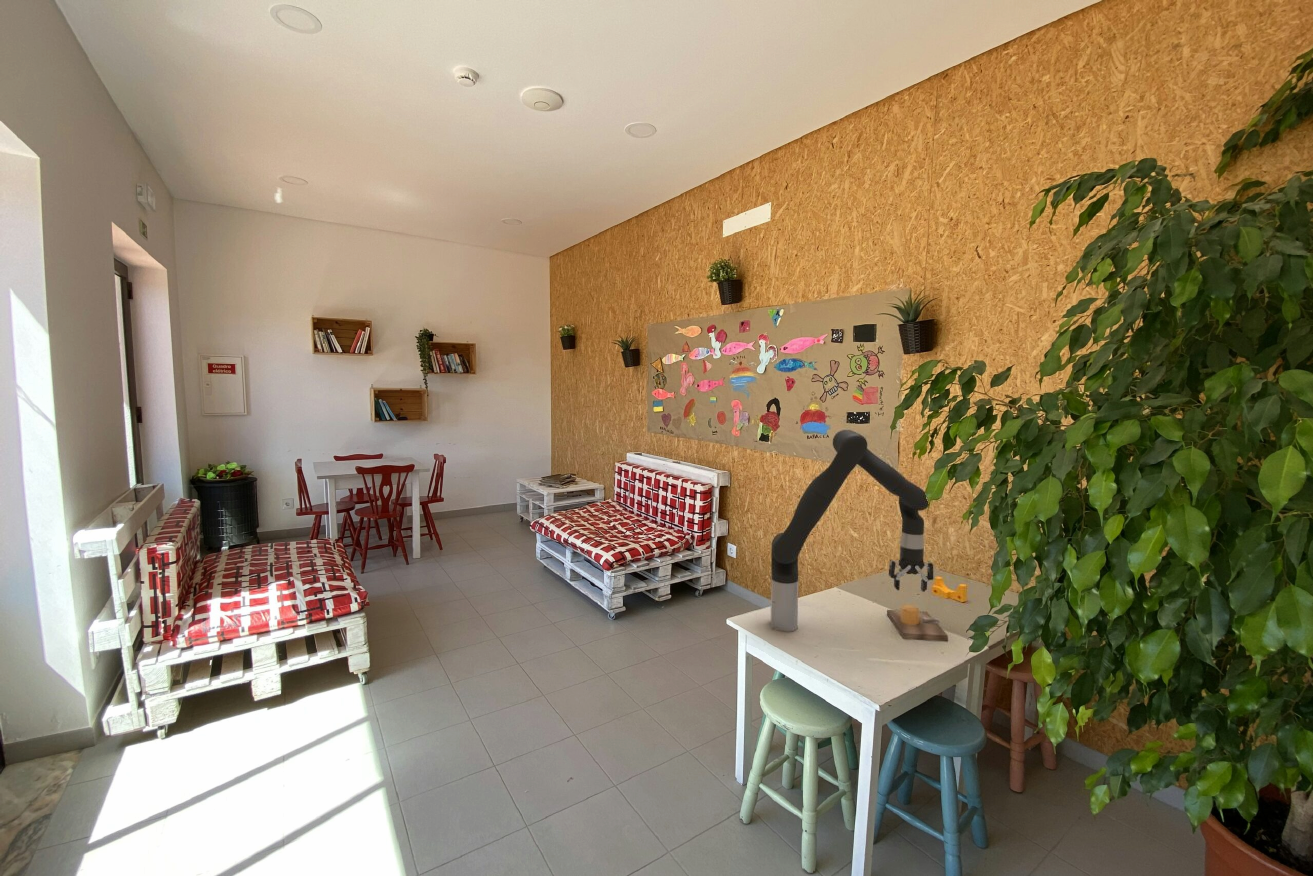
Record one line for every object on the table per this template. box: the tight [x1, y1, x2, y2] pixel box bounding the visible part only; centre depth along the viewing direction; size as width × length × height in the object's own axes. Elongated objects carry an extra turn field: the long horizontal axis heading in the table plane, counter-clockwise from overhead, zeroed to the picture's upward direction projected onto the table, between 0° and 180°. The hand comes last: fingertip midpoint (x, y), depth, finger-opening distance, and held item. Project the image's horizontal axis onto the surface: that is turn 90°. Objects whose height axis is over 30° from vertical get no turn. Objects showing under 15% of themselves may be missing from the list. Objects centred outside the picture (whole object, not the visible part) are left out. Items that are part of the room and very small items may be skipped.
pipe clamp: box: [931, 576, 968, 603], centre depth 218 cm, size 12×4×6 cm, turn 30°
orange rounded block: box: [900, 604, 920, 625], centre depth 190 cm, size 5×6×5 cm
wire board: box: [886, 609, 949, 642], centre depth 190 cm, size 14×20×6 cm
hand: (910, 590), depth 189 cm, fingers open, 8 cm apart
